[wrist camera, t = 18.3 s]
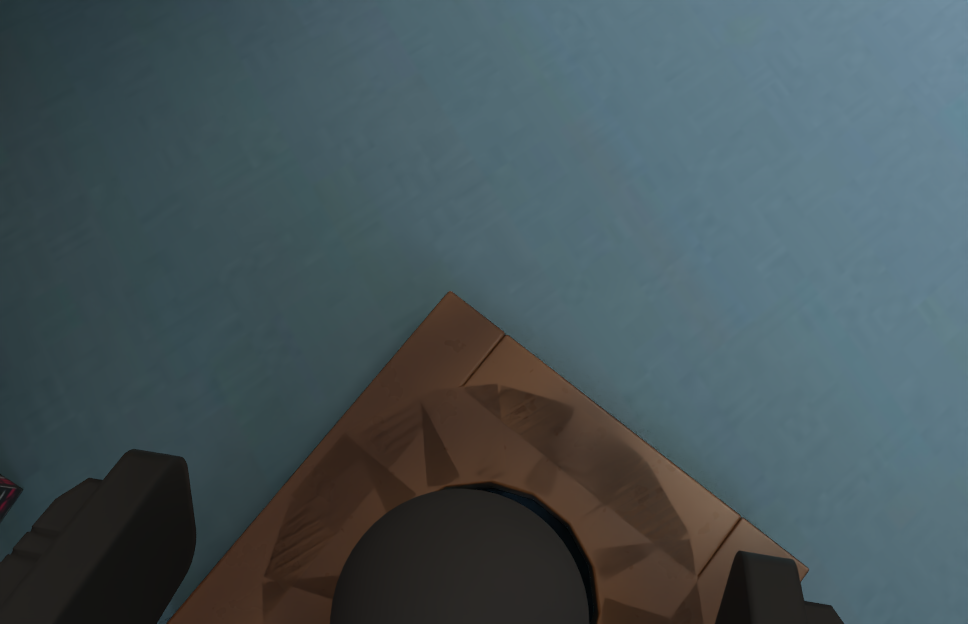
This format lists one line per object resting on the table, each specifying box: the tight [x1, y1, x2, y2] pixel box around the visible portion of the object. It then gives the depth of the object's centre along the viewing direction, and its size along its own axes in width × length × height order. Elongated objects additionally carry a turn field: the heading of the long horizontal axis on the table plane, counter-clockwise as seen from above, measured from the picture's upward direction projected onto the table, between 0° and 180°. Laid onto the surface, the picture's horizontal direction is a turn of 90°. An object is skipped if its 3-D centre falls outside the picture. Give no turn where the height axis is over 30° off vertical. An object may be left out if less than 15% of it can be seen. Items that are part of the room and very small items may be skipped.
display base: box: [166, 291, 809, 624], centre depth 24 cm, size 12×12×2 cm
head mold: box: [330, 489, 589, 624], centre depth 20 cm, size 5×5×10 cm
